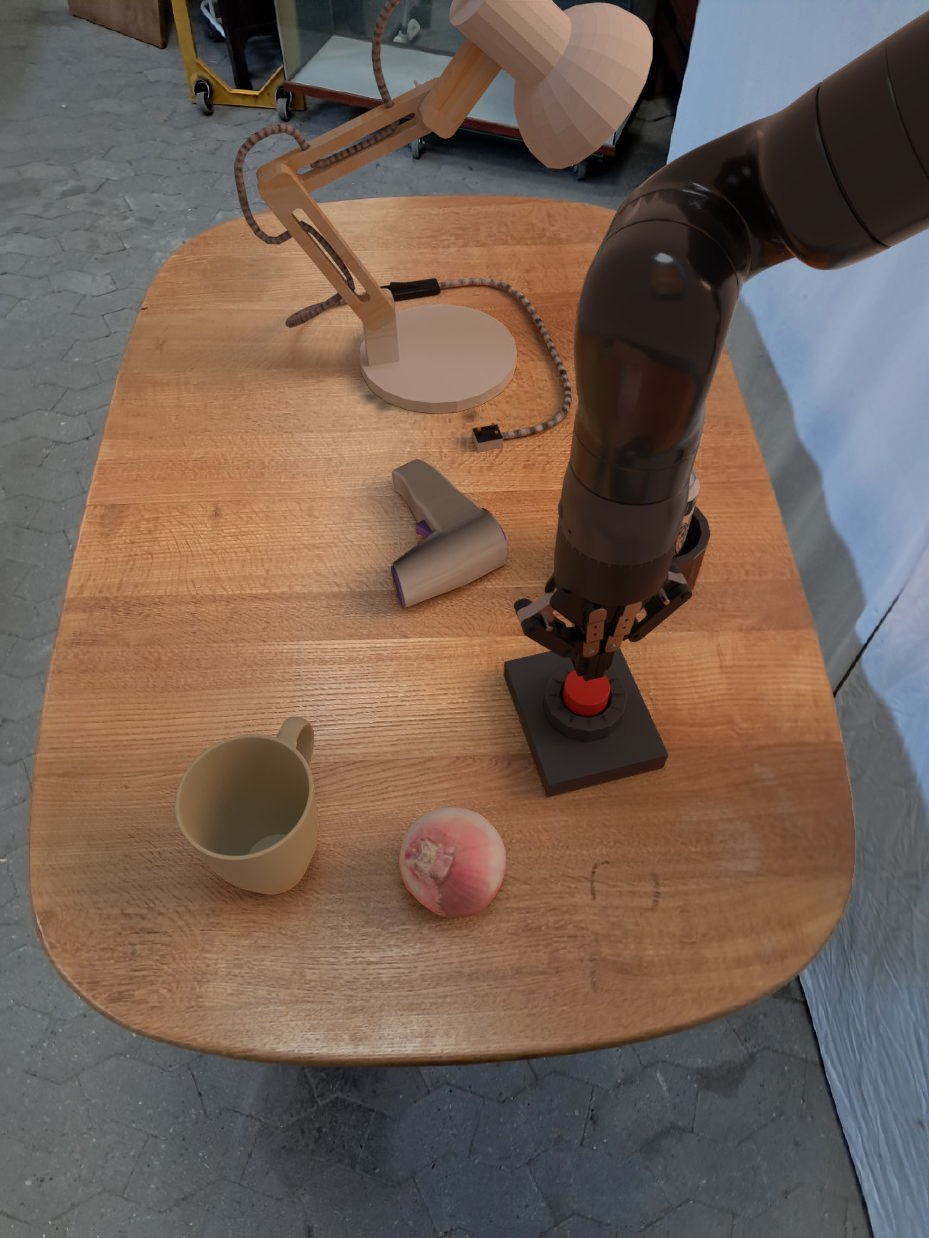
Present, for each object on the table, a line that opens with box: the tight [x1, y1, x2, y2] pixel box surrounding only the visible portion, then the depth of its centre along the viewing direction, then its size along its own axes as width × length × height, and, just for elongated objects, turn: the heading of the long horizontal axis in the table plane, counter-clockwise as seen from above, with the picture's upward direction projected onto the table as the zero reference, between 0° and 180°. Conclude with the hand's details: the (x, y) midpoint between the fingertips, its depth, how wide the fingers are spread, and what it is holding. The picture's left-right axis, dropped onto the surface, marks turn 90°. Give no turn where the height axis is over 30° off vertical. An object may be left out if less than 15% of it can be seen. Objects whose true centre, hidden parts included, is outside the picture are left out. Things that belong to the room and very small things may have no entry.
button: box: [563, 670, 610, 716], centre depth 73 cm, size 4×4×2 cm
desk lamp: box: [233, 0, 654, 453], centre depth 88 cm, size 31×38×40 cm
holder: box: [670, 505, 711, 591], centre depth 83 cm, size 9×9×6 cm
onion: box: [398, 806, 507, 919], centre depth 65 cm, size 8×8×7 cm
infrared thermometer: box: [390, 458, 509, 609], centre depth 86 cm, size 5×12×15 cm
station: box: [503, 647, 669, 798], centre depth 75 cm, size 12×10×4 cm
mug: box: [174, 715, 320, 896], centre depth 65 cm, size 11×10×12 cm
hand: (589, 669), depth 70 cm, fingers closed
